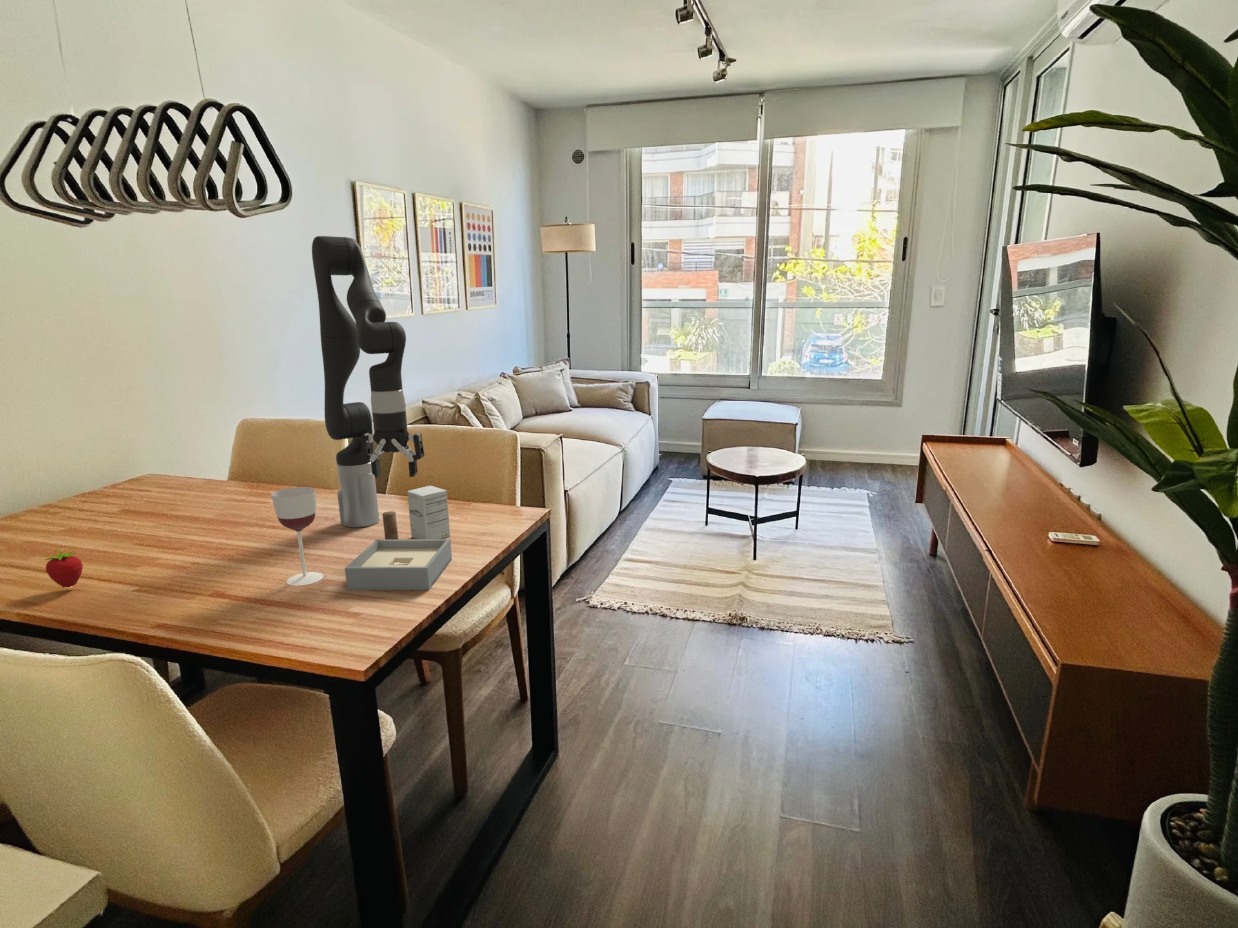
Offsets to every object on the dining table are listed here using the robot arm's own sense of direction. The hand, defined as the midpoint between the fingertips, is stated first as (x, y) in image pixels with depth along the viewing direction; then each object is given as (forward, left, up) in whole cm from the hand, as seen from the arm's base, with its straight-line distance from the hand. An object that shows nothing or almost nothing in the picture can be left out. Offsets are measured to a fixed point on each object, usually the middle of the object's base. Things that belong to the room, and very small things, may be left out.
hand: (395, 476), depth 165 cm
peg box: (+5, -15, -19) cm, 25 cm away
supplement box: (+4, +10, -19) cm, 22 cm away
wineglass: (-16, -17, -19) cm, 30 cm away
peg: (-2, -1, -19) cm, 19 cm away
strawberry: (-65, -23, -19) cm, 72 cm away
